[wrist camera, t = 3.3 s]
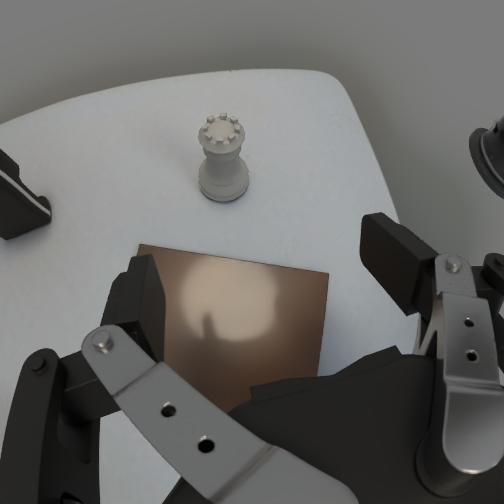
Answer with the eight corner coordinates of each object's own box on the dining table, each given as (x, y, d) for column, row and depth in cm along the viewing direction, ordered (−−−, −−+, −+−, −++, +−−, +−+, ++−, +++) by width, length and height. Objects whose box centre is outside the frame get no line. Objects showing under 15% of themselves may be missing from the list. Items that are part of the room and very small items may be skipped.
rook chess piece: (258, 189, 27) (267, 136, 19) (213, 212, 26) (206, 164, 18) (233, 153, 28) (234, 95, 20) (190, 173, 27) (177, 118, 19)
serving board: (327, 274, 25) (329, 273, 25) (304, 436, 22) (306, 438, 21) (141, 245, 25) (139, 243, 25) (114, 404, 21) (112, 406, 21)
